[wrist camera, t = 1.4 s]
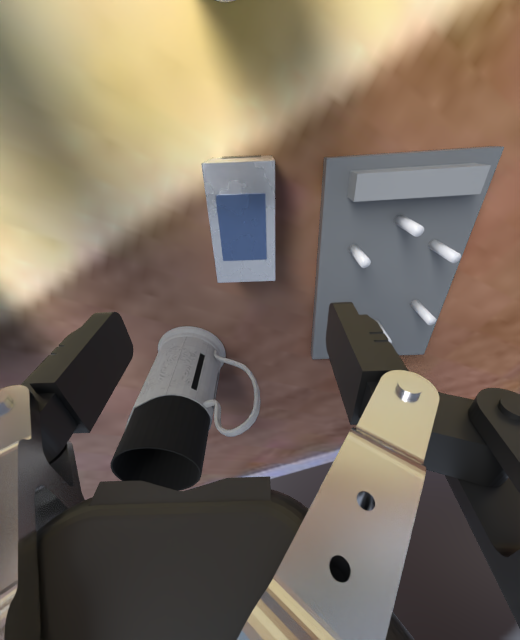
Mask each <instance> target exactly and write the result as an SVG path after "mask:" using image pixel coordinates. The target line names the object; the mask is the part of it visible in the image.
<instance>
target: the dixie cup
mask: <svg viewBox="0 0 520 640" xmlns="http://www.w3.org/2000/svg"><path fill="white" fill-rule="evenodd" d="M216 1H219V2H231V1H235V0H216Z"/></svg>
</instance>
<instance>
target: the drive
mask: <svg viewBox="0 0 520 640" xmlns="http://www.w3.org/2000/svg"><path fill="white" fill-rule="evenodd" d="M202 171H203V178H204V186H205V193H206V200H207V207H208V215H209V222H210V229H211V237H212V244H213V251H214V258H215V266H216V273H217V280H218V283H223V282H252V281H275V160H274V158H273V157H272V155H269V156H261V155H255V156H231V157H220V158H211V159H209V160H207V161H205V162H203V163H202Z"/></svg>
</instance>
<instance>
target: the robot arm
mask: <svg viewBox="0 0 520 640" xmlns="http://www.w3.org/2000/svg"><path fill="white" fill-rule="evenodd" d="M326 348H327V353H328V356H329V359H330V362H331V365H332V368H333V372H334V375H335V378H336V381H337V384H338V387H339V390H340V393H341V397H342V400H343V403H344V406H345V409H346V412H347V415H348V419H349V422H350V425H355V424H357V426H356V428H352V429H351V430H350V432H349V434H348V435H347V437H346V439H345V441H344V443H343V445H342V447H341V449H340V451H339V453H338V455H337V456H336V458H335V460H334V462H333V464H332V466H331V468H330V470H329V472H328V474H327V476H326V478H325V480H324V481H323V483H322V486H321V487H320V489H319V491H318V493H317V495H316V497H315V499H314V501H313V503H312V504H311V506H310V508H309V509H308V508H307V507H305V506H304V505H302V504H301V503H300V502H298V501H297V500H295V499H293V498H292V497H290V496H288V495H285V494H283V493H281V492H278V491H274V490H271V488H270V477H244V478H226V479H223V480H219V481H216V482H213V483H210V484H206V485H203V486H200V487H196V488H193V489H190V490H187V491H176V490H173V489H169V488H166V487H162V486H159V485H155V484H152V483H148V482H145V481H110V482H100V483H99V485H98V488H97V490H96V492H95V494H94V496H93V497H92V498H89V499H87V500H84V498H83V495H82V492H81V487H80V482H79V477H78V471H77V466H76V461H75V455H74V450H73V446H72V443H71V442H70V441H69V439H70V437H71V436H72V434H73V433H90V431H91V429H92V428H93V426H94V424H95V422H96V421H97V419H98V417H99V415H100V414H101V412H102V410H103V408H104V407H105V405H106V403H107V401H108V400H109V398H110V396H111V394H112V393H113V391H114V389H115V387H116V386H117V384H118V382H119V380H120V379H121V377H122V375H123V373H124V372H125V370H126V368H127V366H128V365H129V363H130V361H131V359H132V356H133V344H132V342H131V339H130V337H129V334H128V332H127V329H126V327H125V325H124V322H123V320H122V317H121V316H120V314H119V313H117V312H106V313H95V314H93V315H92V316H91V317H90V318H89V319H88V320H87V321H86V323H85V324H84V325H83V326H82V327H80V328H79V329H77V330H76V331H74V332H73V333H71V334H69V335H68V336H67V337H66V338H65V339H64V340H63V341H62V342H61V343H60V344H59V347H57V348H56V349H55V350H54V351H53V352H52V353H51V355H49V356H48V357H47V358H46V359H45V360H44V361H43V362H42V363H41V364H40V365H39V366H38V367H37V368H36V370H35V371H34V372H33V373H32V374H31V375H30V376H29V377H28V378H27V379H26V380H25V381H24V382H23V383H22V384H21V385H13V386H8V387H4V388H2V389H0V640H414V638H413V637H412V636H411V635H410V633H409V632H408V631H407V630H406V628H405V627H404V626H403V625H402V623H401V622H400V621H399V619H398V618H397V617H396V616H395V614H394V613H393V612H392V611H393V607H394V603H395V598H396V594H397V590H398V586H399V581H400V578H401V574H402V569H403V566H404V561H405V557H406V553H407V549H408V545H409V541H410V537H411V532H412V528H413V524H414V520H415V516H416V512H417V508H418V504H419V499H420V495H421V491H422V487H423V483H424V478H425V473H426V470H430V471H433V472H437V473H440V474H444V475H445V476H446V479H447V481H448V482H449V485H450V487H451V489H452V491H453V493H454V495H455V497H456V499H457V501H458V503H459V505H460V507H461V509H462V511H463V513H464V515H465V517H466V519H467V521H468V524H469V526H470V528H471V530H472V532H473V534H474V536H475V538H476V540H477V542H478V544H479V546H480V548H481V550H482V552H483V554H484V556H485V558H486V560H487V562H488V564H489V566H490V568H491V571H492V572H493V575H494V576H495V579H496V581H497V583H498V585H499V587H500V589H501V591H502V593H503V595H504V597H505V599H506V601H507V603H508V605H509V607H510V609H511V611H512V613H513V615H514V618H515V620H516V622H517V624H518V626H519V628H520V394H517V393H515V392H512V391H509V390H505V389H500V388H487V389H484V390H481V391H480V392H479V393H478V395H477V396H476V398H475V400H472V399H467V398H462V397H458V396H453V395H448V394H443V393H440V392H438V391H437V390H436V388H435V387H434V386H433V385H432V383H430V382H429V381H428V380H427V379H425V378H424V377H422V376H420V375H418V374H416V373H413V372H410V371H408V369H407V368H406V366H405V365H404V363H403V362H402V360H401V358H400V357H399V355H398V354H397V352H396V351H395V349H394V347H393V346H392V344H391V343H390V342H389V341H388V338H387V336H386V335H385V334H384V333H383V330H382V329H381V327H380V326H379V324H378V322H376V321H375V320H374V319H372V318H371V317H369V316H368V315H367V314H364V315H359V314H358V312H357V310H356V308H355V307H354V305H353V303H352V302H335V303H330V305H329V312H328V321H327V330H326Z"/></svg>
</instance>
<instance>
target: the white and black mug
mask: <svg viewBox="0 0 520 640" xmlns="http://www.w3.org/2000/svg"><path fill="white" fill-rule="evenodd" d="M224 363H226V364H230V365H233V366H236V367H238V368H241V369H242V370H244V371H245V372H246V373H247V374H248V375H249V377H250V378H251V381H252V384H253V387H254V406H253V410H252V412H251V414H250V416H249V418H248V419H247V420H246V421H245V422H244V423H243V424H241V425H240V426H238V427H236V428H234V429H232V430H226V429H224V428H223V427H222V425H221V406H220V404H219V403H218V401H216V400H215V399H216V392H217V386H218V380H219V374H220V368H221V367H222V366H223V364H224ZM214 406H215V411H214ZM259 409H260V391H259V387H258V384H257V381H256V379H255V377H254V376H253V374H252V372H251V371H250V370H249V369H248V368H247V367H246V365H243V364H241V363H239V362H236V361H233V360H231V359H227V358H226V352H225V348H224V346H223V344H222V342H221V341H220V340H219V339H218V338H217V337H216V336H215V335H213V334H212V333H210V332H209V331H207V330H204V329H201V328H197V327H191V326H183V327H177V328H174V329H171V330H170V331H168V332H166V333H165V334H164V335H163V336H162V338H161V339H160V341H159V344H158V355H157V357H156V359H155V361H154V363H153V365H152V368H151V370H150V372H149V374H148V376H147V379H146V381H145V383H144V385H143V387H142V390H141V392H140V394H139V396H138V398H137V401H136V403H135V405H134V407H133V409H132V412H131V414H130V416H129V419H128V421H127V425H126V428H125V432H124V434H123V436H122V439H121V441H120V443H119V445H118V447H117V450H116V452H115V454H114V456H113V459H112V461H111V469H112V472H113V473H114V474H115V475H116V476H117V477H118V478H119V479H120V480H122V481H145V482H148V483H152V484H155V485H159V486H162V487H166V488H169V489H173V490H176V491H179V490H184V489H187V488H189V487H191V486H193V485H195V484H196V483H197V482H198V481H199V480H200V477H201V473H202V467H203V461H204V455H205V449H206V443H207V437H208V431H209V429H210V427H211V424H212V417H213V411H214V422H215V426H216V428H217V429H218V430H219V432H220V433H221V434H223V435H226V436H228V437H230V436H237V435H239V434H242V433H243V432H245V431H246V430H248V429H249V428H250V427H251V425H252V424H253V423H254V422H255V420H256V418H257V416H258V414H259Z"/></svg>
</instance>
